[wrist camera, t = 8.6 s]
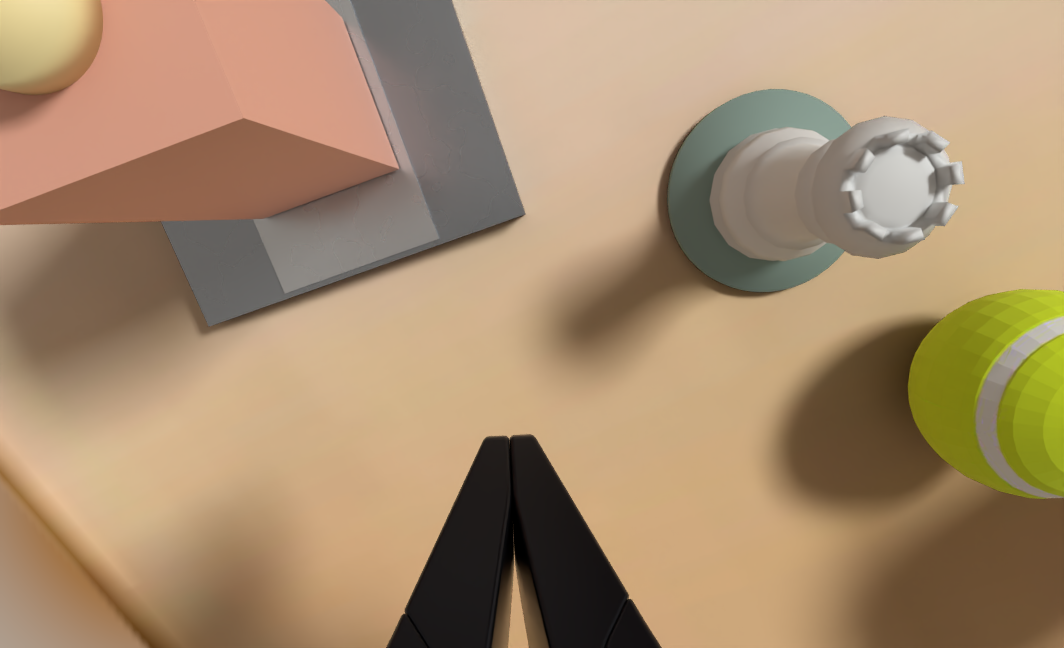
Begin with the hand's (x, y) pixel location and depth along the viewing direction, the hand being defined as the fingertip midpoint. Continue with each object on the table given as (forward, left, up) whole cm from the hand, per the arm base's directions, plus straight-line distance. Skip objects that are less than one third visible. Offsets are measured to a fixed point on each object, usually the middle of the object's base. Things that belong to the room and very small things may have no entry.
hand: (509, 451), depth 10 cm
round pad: (+9, -5, -12) cm, 16 cm away
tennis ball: (+8, -15, -13) cm, 21 cm away
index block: (+2, +10, -11) cm, 15 cm away
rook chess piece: (+9, -5, -12) cm, 16 cm away
